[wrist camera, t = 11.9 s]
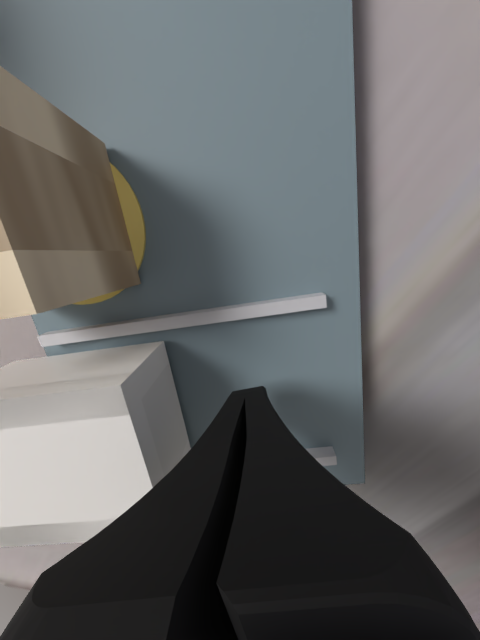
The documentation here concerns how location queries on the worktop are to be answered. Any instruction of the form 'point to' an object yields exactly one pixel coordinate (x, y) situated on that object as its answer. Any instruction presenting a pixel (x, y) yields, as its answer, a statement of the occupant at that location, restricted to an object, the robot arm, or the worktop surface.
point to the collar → (55, 209)
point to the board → (219, 196)
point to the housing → (84, 440)
